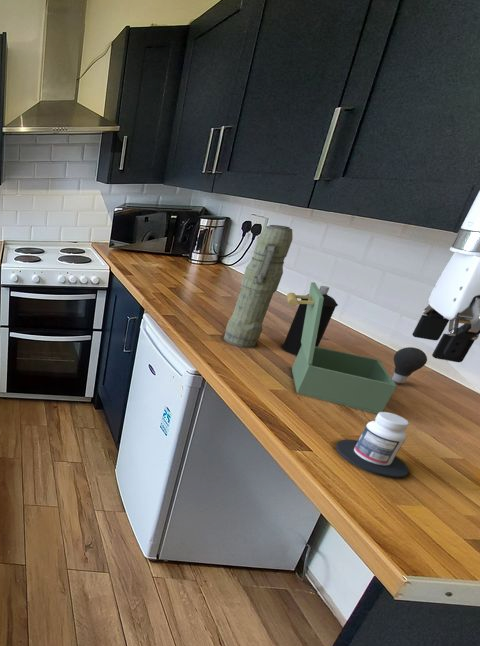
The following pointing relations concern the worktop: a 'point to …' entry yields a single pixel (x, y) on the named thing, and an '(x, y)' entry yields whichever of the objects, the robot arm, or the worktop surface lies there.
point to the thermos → (258, 286)
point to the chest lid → (309, 318)
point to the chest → (343, 379)
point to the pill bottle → (382, 439)
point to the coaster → (390, 471)
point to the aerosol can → (296, 329)
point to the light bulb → (407, 363)
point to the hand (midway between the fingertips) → (434, 348)
